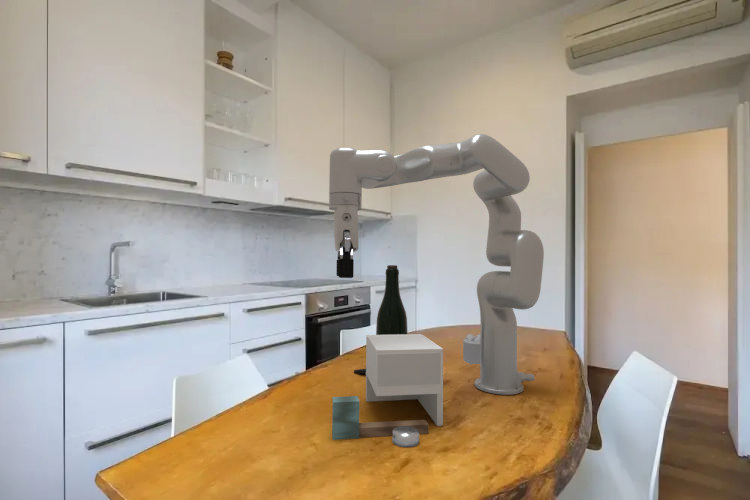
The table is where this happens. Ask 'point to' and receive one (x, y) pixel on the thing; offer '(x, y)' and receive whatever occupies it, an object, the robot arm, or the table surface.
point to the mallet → (350, 428)
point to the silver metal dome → (405, 436)
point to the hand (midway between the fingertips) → (344, 276)
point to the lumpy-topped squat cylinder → (471, 349)
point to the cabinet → (405, 371)
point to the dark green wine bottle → (391, 307)
